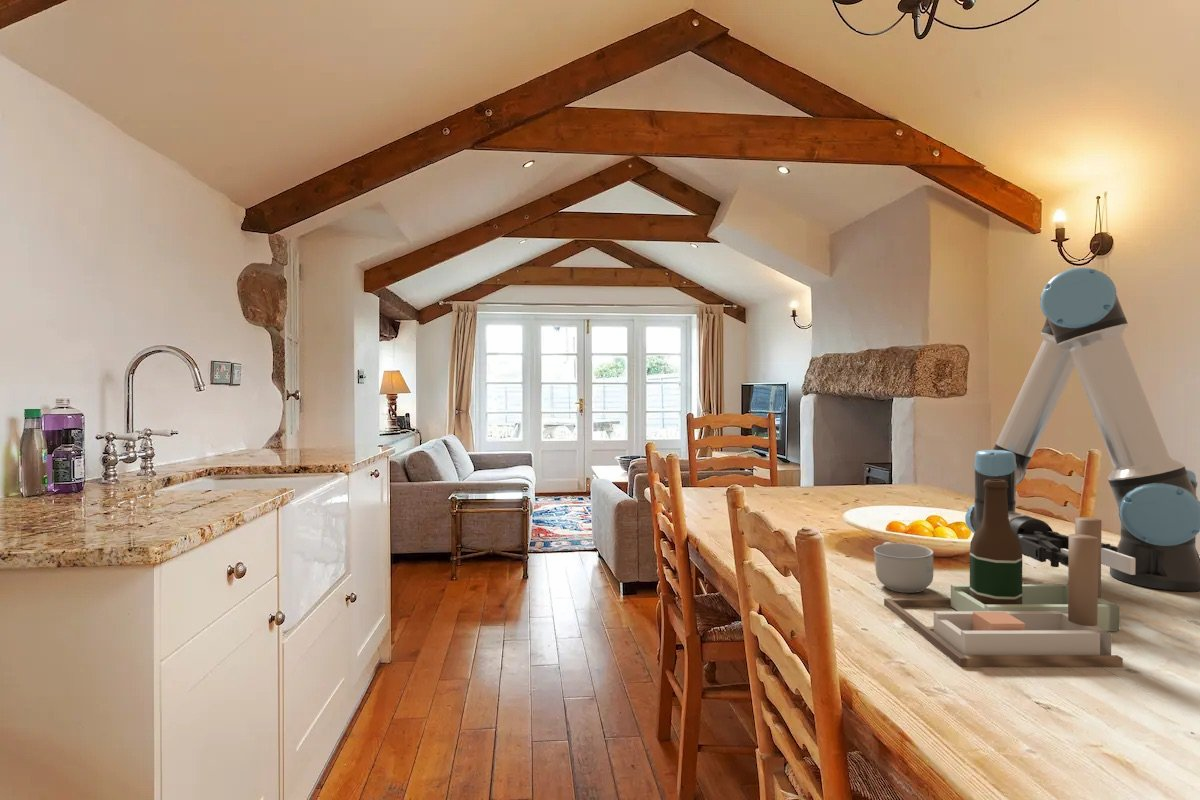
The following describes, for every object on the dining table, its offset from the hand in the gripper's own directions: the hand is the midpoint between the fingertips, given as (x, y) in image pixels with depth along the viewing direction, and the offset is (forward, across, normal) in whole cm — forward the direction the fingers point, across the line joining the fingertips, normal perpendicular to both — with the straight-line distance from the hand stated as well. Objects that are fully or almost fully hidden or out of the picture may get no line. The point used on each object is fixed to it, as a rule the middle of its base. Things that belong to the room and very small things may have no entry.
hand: (1111, 566), depth 107 cm
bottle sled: (-5, +10, -10) cm, 15 cm away
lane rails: (+1, +20, -10) cm, 22 cm away
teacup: (-24, +24, -11) cm, 35 cm away
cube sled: (+8, +20, -10) cm, 24 cm away
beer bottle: (-6, +15, -11) cm, 20 cm away
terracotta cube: (+8, +23, -11) cm, 26 cm away
